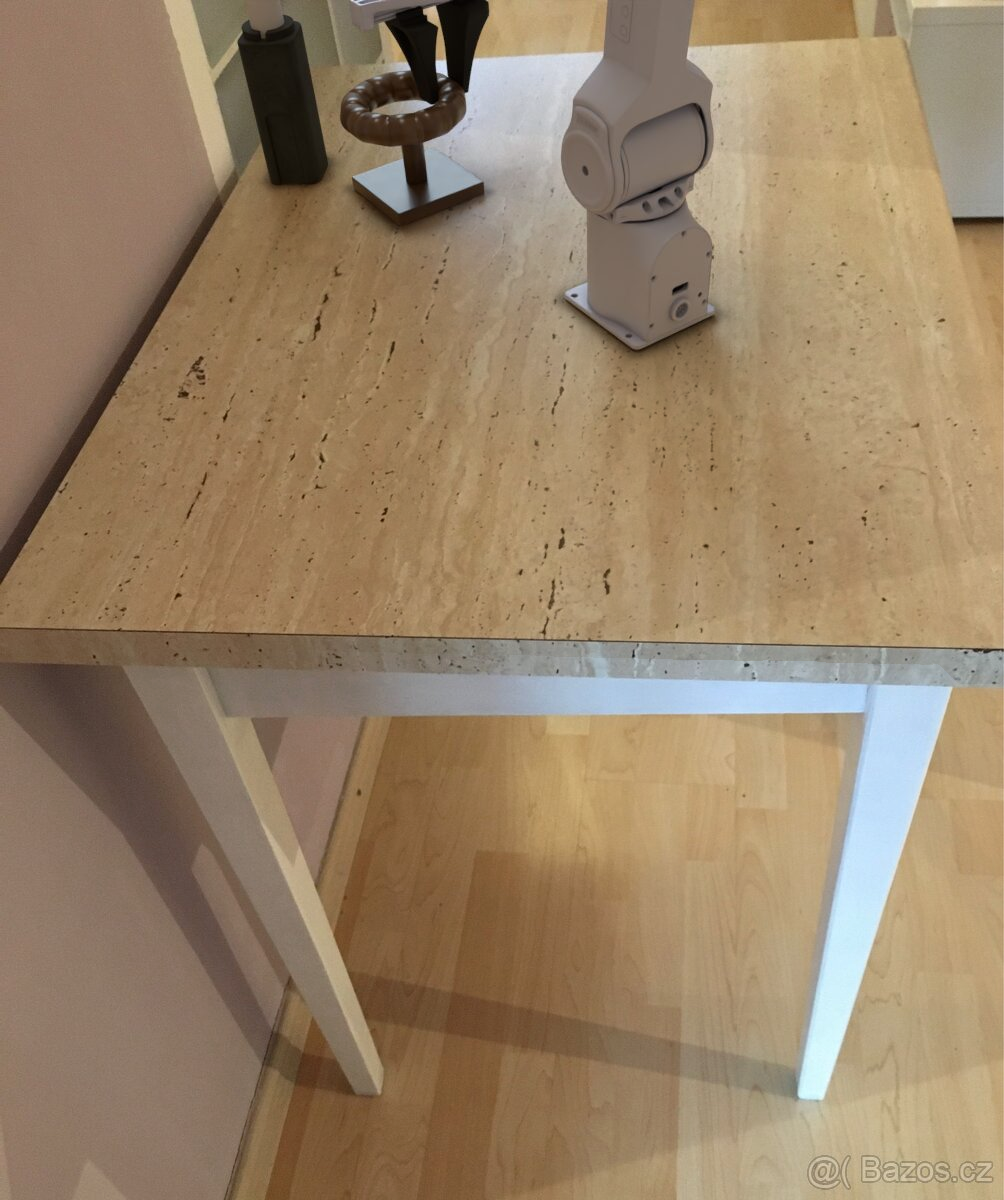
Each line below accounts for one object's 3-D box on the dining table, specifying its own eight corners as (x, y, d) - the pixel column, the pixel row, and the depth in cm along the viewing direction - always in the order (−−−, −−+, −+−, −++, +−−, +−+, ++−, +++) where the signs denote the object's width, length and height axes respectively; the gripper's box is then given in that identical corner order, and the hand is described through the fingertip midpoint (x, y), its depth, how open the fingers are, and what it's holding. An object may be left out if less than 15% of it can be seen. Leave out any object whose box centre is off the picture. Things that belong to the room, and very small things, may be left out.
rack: (484, 194, 97) (480, 138, 93) (400, 226, 94) (392, 170, 90) (434, 158, 102) (428, 104, 98) (353, 188, 99) (343, 134, 95)
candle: (330, 158, 104) (272, -144, 85) (319, 184, 100) (256, -125, 82) (280, 159, 104) (211, -141, 85) (267, 185, 101) (193, -122, 82)
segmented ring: (491, 122, 90) (488, 94, 88) (381, 164, 86) (377, 135, 85) (426, 82, 96) (422, 55, 94) (321, 119, 93) (316, 91, 91)
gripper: (476, -117, 86) (488, 57, 96) (320, -74, 82) (350, 104, 92) (525, -98, 82) (532, 81, 92) (363, -51, 77) (389, 132, 88)
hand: (444, 94), depth 92 cm, fingers closed on segmented ring, 2 cm apart
